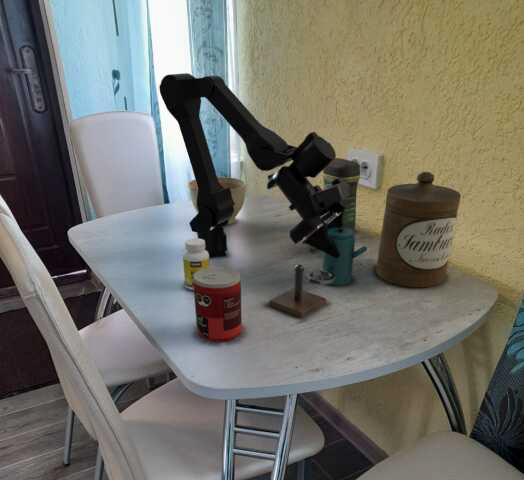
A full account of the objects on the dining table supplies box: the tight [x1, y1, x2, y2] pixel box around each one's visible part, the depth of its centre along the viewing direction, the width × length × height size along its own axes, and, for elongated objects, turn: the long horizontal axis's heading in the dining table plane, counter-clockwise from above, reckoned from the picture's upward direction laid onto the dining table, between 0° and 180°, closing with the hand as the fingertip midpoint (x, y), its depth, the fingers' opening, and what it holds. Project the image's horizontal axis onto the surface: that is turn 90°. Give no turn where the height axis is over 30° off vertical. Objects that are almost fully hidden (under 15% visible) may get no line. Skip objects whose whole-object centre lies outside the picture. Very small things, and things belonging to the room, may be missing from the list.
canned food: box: [193, 266, 243, 343], centre depth 87 cm, size 8×8×11 cm
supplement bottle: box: [182, 237, 211, 291], centre depth 105 cm, size 5×5×10 cm
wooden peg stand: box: [268, 264, 327, 319], centre depth 97 cm, size 8×8×8 cm
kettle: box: [305, 227, 368, 287], centre depth 103 cm, size 9×15×12 cm, turn 150°
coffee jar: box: [322, 157, 361, 232], centre depth 134 cm, size 10×8×19 cm
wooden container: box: [375, 171, 462, 288], centre depth 107 cm, size 15×15×22 cm
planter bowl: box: [187, 176, 248, 225], centre depth 143 cm, size 16×16×11 cm
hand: (344, 252), depth 106 cm, fingers closed on kettle, 6 cm apart
